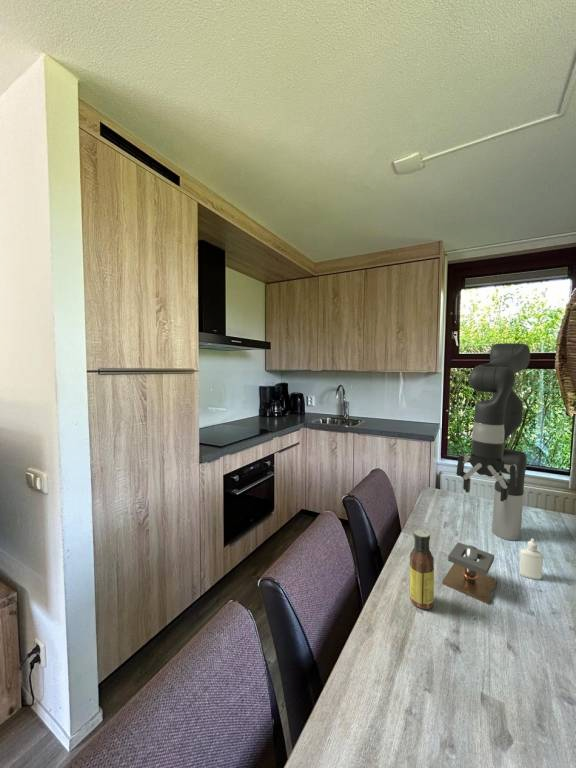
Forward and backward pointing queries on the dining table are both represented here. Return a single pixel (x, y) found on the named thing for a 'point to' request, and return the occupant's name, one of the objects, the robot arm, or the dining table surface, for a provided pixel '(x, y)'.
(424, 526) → the dining table surface
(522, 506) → the robot arm
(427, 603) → the sauce bottle
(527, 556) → the eye dropper bottle
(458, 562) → the collar
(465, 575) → the bronze plate with post
